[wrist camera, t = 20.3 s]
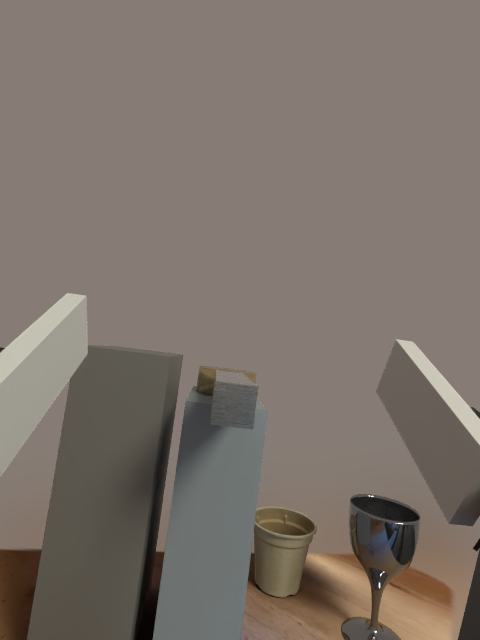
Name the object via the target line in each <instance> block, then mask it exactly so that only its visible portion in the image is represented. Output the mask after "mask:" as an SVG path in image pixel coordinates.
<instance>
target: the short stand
mask: <svg viewBox="0 0 480 640" xmlns="http://www.w3.org/2000/svg"><path fill="white" fill-rule="evenodd" d="M196 389H197V386H194V387H193V388H192V390H191V392H190V394H189V396H188V398H187V399H186V402H185V409H184V417H183V424H182V431H181V438H180V445H179V453H178V460H177V468H176V475H175V482H174V489H173V496H172V504H171V511H170V518H169V525H168V532H167V540H166V547H165V554H164V561H163V568H162V576H161V583H160V590H159V597H158V605H157V612H156V619H155V626H154V633H153V640H241V633H242V625H243V617H244V608H245V600H246V591H247V583H248V574H249V566H250V557H251V548H252V540H253V532H254V524H255V515H256V506H257V497H258V490H259V481H260V473H261V463H262V456H263V447H264V439H265V430H266V422H267V414H268V410H267V409H266V408H265V407H264V406H263V405H262V404H261V403H260V402H259V400H258V399H257V402H256V410H255V418H254V427H253V429H244V428H236V427H227V426H219V425H210V424H211V409H212V396H209V395H204V394H201V393H198V392H196Z"/></svg>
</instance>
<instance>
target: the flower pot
mask: <svg viewBox="0 0 480 640" xmlns="http://www.w3.org/2000/svg"><path fill="white" fill-rule="evenodd" d="M316 531H317V526H316V524H315V522H314V521H313V520H312V519H311V518H309V517H308V516H306V515H304V514H302V513H300V512H297V511H294V510H291V509H288V508H281V507H262V508H258V509H256V515H255V524H254V546H255V547H254V548H255V583H256V584H258V585H259V587H260V588H261V590H262V591H263V592H265V593H267V594H269V595H272V596H275V597H282V598H285V597H286V596H288V595H295V594H296V593H297V592H298V590H299V586H300V582H301V577H302V573H303V568H304V564H305V560H306V556H307V552H308V547H309V544H310V543H311V541H312V538H313V535H314V534H315V533H316Z"/></svg>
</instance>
